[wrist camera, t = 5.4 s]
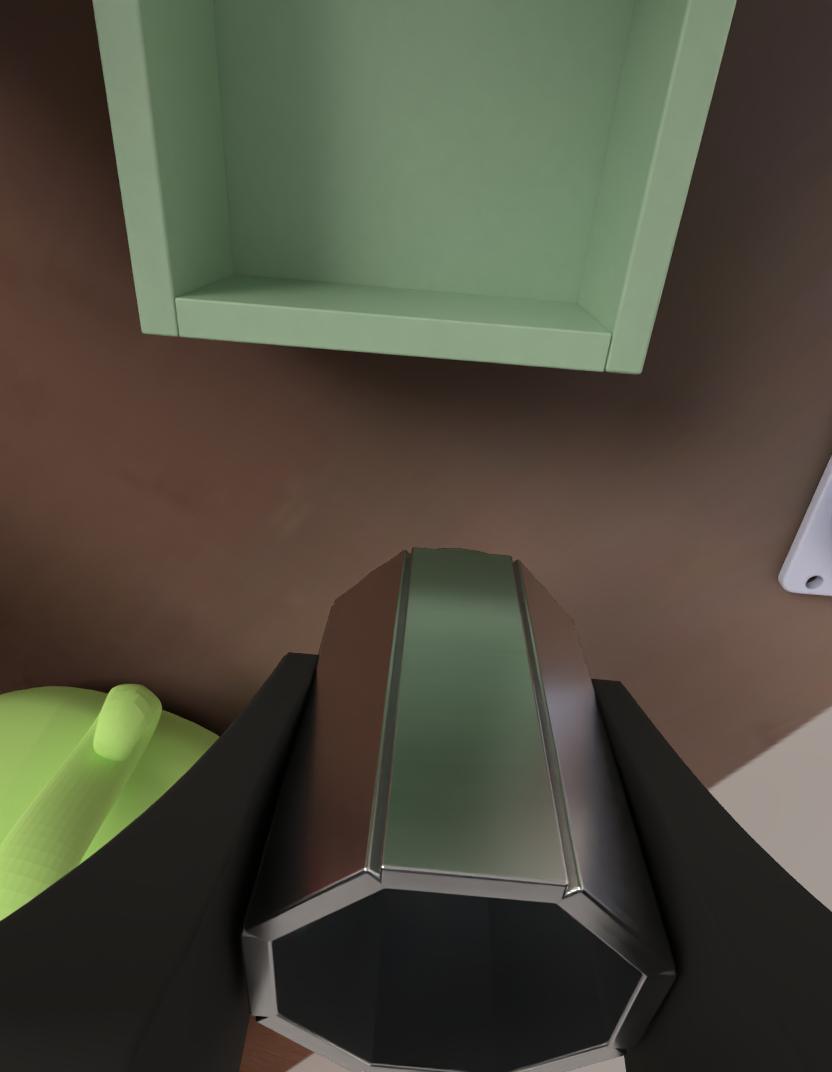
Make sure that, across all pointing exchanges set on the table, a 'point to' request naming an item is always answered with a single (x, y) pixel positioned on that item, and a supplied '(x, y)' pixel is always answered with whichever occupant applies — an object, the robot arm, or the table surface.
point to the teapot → (80, 776)
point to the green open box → (409, 170)
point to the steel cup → (453, 840)
